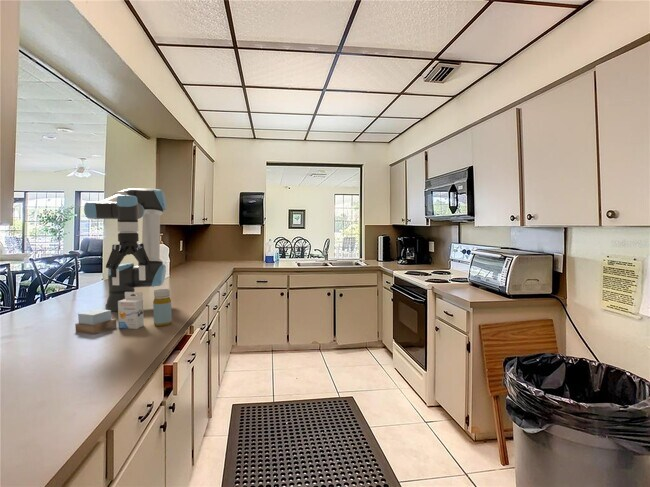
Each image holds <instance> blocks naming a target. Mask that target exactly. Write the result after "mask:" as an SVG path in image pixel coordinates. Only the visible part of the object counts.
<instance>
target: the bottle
mask: <svg viewBox="0 0 650 487" xmlns="http://www.w3.org/2000/svg"><path fill="white" fill-rule="evenodd" d="M170 294H171V290H170V289H169V288H160V289H155V290H154V291H153V298H154V299H153V305H152V306H153V308H152V309H153V324H154V325H155V326H156V327H163V326H164V327H165V326H169V325H170V324H172V299H171V295H170Z"/></svg>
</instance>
